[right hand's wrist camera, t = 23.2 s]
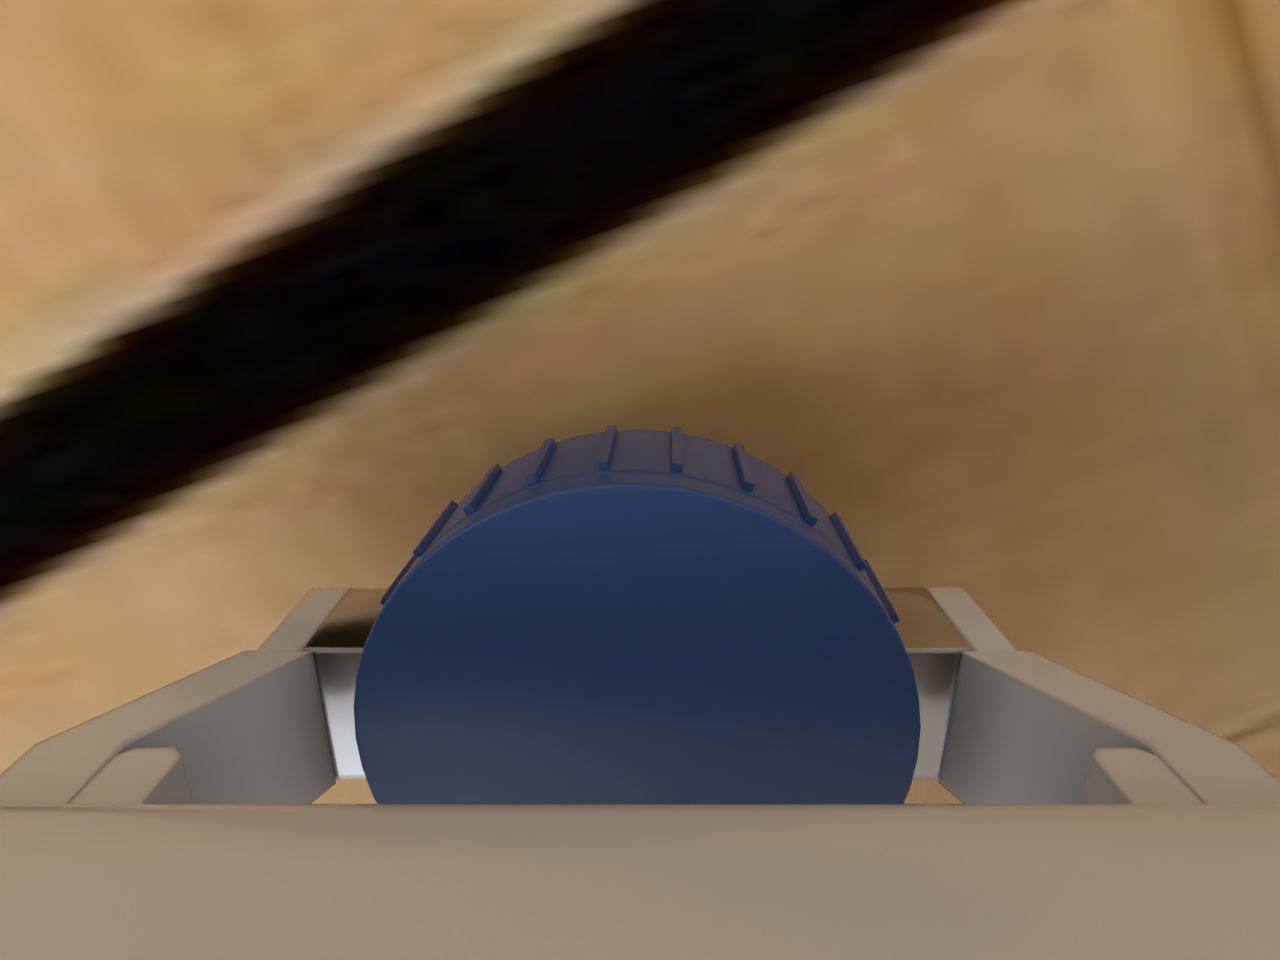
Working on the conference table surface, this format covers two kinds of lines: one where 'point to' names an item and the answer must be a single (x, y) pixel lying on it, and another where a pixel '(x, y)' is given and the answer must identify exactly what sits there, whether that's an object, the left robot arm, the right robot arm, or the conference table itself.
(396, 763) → the lid
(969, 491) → the conference table surface
